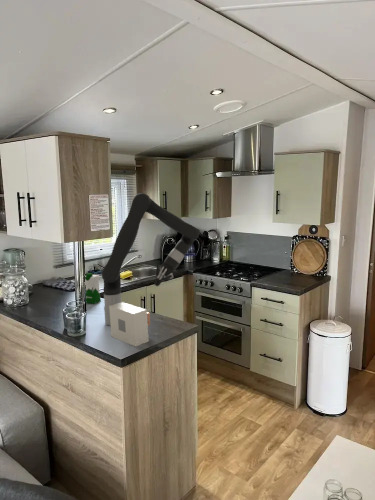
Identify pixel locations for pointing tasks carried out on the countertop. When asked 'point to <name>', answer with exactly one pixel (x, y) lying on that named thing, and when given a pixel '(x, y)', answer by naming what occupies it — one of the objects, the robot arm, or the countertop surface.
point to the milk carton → (92, 288)
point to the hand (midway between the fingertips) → (155, 285)
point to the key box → (129, 323)
